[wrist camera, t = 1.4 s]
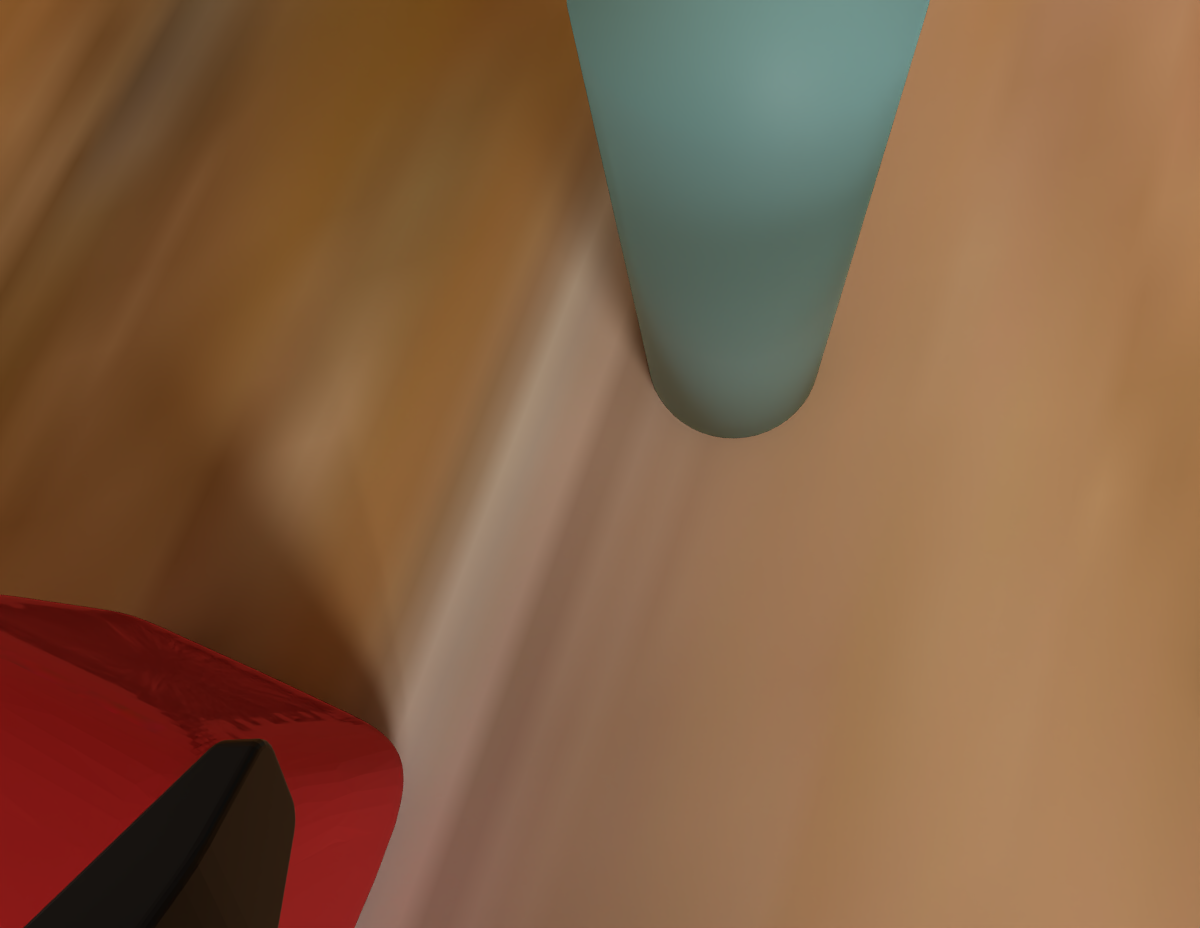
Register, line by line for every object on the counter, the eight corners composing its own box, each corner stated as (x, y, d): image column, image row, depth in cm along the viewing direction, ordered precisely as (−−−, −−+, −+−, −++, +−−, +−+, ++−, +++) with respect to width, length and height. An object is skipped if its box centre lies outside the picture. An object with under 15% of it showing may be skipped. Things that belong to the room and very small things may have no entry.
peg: (783, 463, 23) (856, 189, 11) (623, 402, 24) (509, 76, 11) (843, 307, 24) (983, -132, 11) (685, 252, 24) (646, -224, 12)
